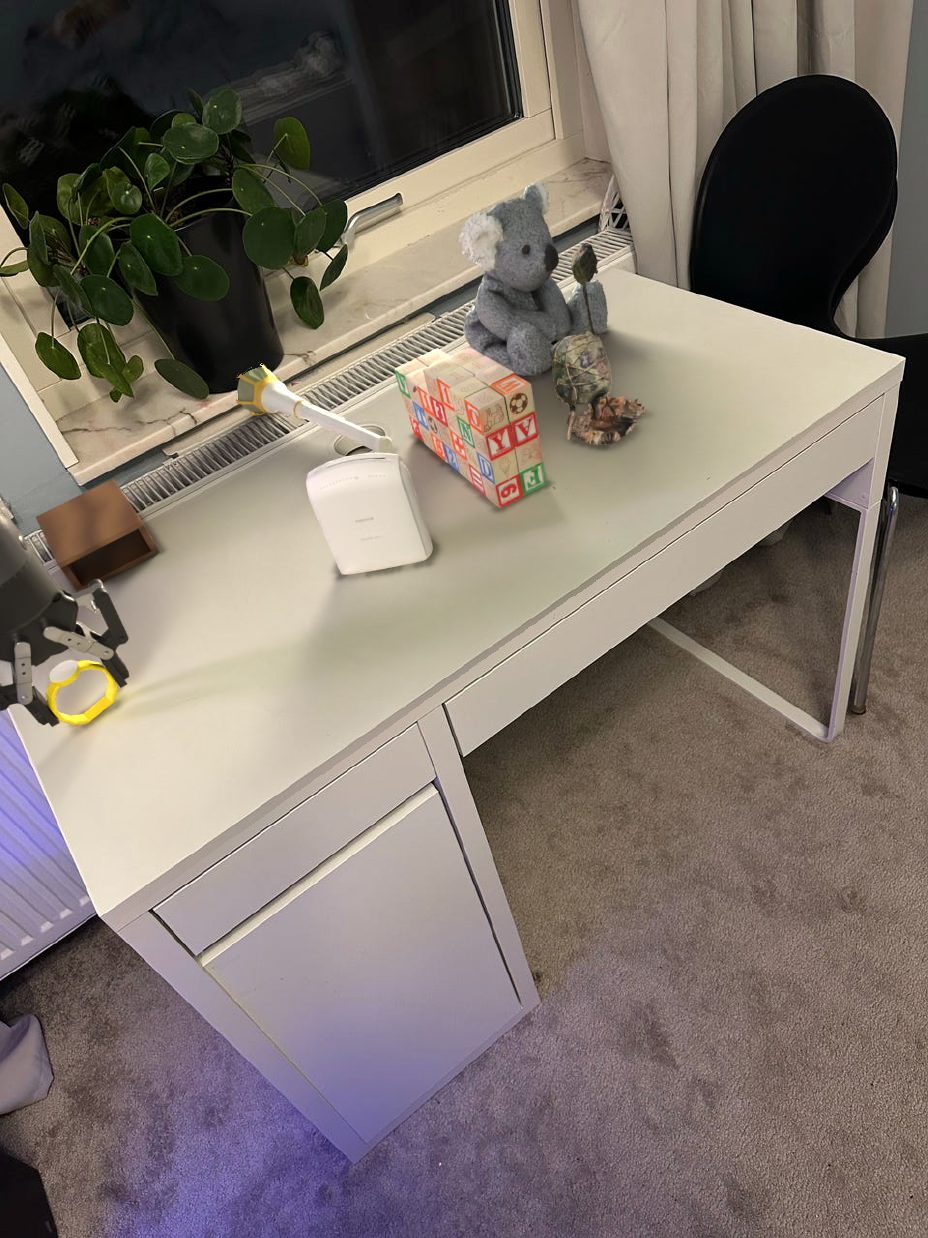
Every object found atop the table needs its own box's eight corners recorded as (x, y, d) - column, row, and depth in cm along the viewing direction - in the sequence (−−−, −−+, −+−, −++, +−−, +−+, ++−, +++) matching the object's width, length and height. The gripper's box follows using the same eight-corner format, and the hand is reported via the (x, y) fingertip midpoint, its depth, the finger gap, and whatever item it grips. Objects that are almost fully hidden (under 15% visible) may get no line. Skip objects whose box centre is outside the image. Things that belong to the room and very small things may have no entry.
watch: (118, 685, 82) (87, 643, 78) (131, 698, 80) (100, 655, 76) (63, 725, 80) (28, 683, 76) (75, 738, 78) (40, 696, 74)
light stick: (357, 439, 98) (215, 374, 115) (371, 483, 102) (232, 415, 119) (400, 409, 101) (256, 351, 118) (411, 454, 105) (271, 391, 122)
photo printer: (336, 580, 87) (294, 481, 79) (340, 554, 90) (301, 456, 82) (433, 564, 85) (401, 461, 77) (434, 538, 88) (404, 437, 80)
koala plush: (536, 386, 107) (510, 229, 94) (440, 361, 118) (404, 217, 105) (618, 325, 115) (605, 171, 101) (520, 307, 126) (496, 166, 112)
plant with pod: (541, 438, 98) (511, 268, 85) (617, 397, 101) (599, 226, 88) (584, 464, 93) (559, 285, 79) (663, 419, 96) (652, 240, 82)
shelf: (78, 594, 95) (57, 564, 92) (55, 545, 104) (35, 516, 101) (160, 551, 98) (141, 521, 95) (130, 507, 107) (113, 478, 104)
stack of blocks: (412, 436, 105) (385, 343, 97) (455, 415, 106) (432, 322, 98) (500, 509, 90) (477, 407, 81) (549, 484, 91) (531, 381, 83)
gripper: (58, 505, 72) (148, 641, 84) (-111, 588, 68) (7, 719, 79) (77, 542, 67) (170, 682, 78) (-104, 634, 63) (21, 767, 74)
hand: (88, 700), depth 79 cm, fingers closed on watch, 6 cm apart
